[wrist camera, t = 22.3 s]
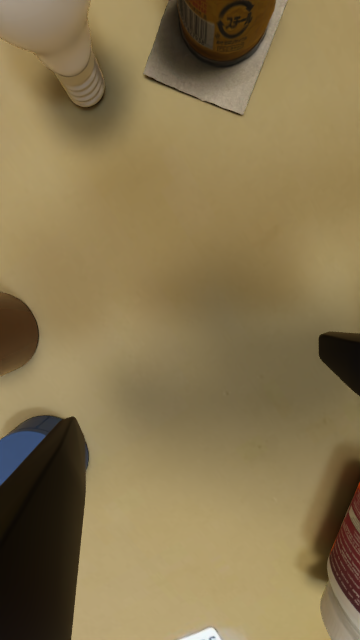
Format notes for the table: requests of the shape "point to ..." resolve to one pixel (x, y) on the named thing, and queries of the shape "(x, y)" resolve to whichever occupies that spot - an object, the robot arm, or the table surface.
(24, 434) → the lid
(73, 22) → the lightbulb
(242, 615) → the table surface
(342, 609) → the pill bottle
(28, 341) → the jar
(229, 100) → the condiment
